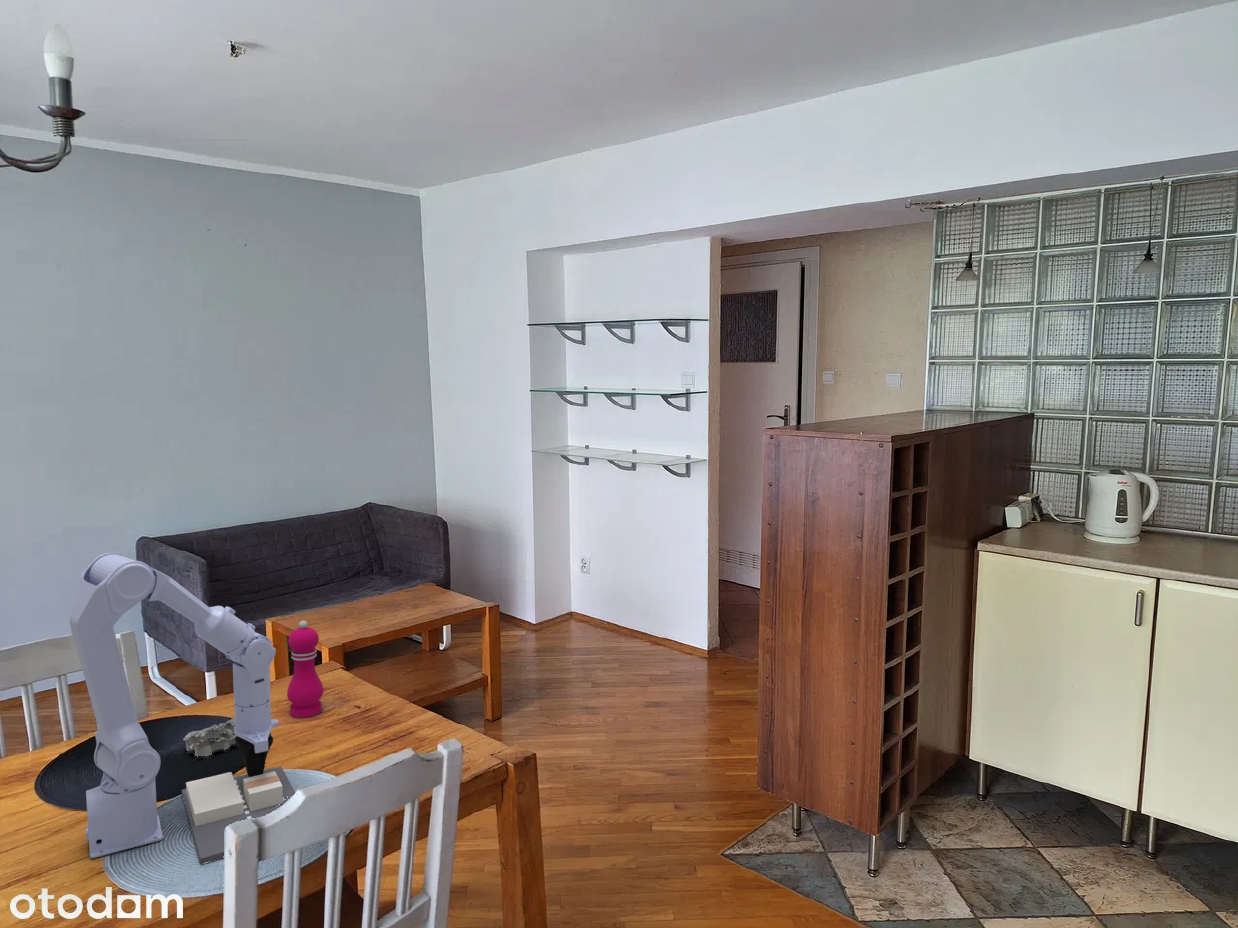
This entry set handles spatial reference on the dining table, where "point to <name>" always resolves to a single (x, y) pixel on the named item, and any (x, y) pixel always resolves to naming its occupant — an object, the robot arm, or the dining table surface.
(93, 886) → the dining table surface
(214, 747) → the egg carton
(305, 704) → the pepper mill
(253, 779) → the stub
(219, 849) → the mat
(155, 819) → the robot arm
